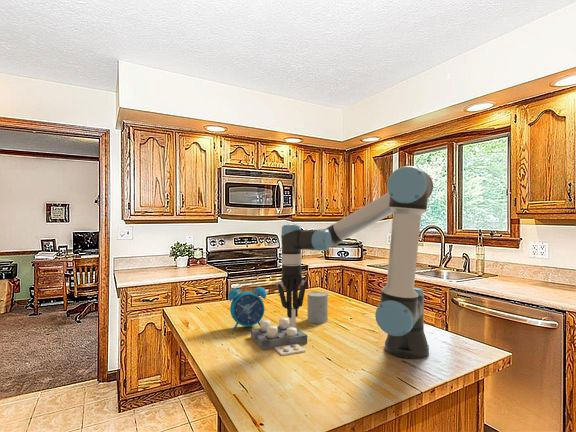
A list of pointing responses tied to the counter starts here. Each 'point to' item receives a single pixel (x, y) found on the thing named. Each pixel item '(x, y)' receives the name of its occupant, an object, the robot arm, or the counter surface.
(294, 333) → the button
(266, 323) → the button
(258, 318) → the alarm clock
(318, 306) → the speckled white tin can
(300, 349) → the card
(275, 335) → the button
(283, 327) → the button
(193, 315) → the counter surface
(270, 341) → the button board
